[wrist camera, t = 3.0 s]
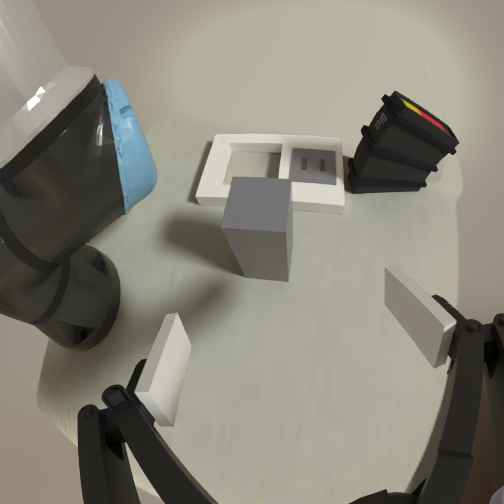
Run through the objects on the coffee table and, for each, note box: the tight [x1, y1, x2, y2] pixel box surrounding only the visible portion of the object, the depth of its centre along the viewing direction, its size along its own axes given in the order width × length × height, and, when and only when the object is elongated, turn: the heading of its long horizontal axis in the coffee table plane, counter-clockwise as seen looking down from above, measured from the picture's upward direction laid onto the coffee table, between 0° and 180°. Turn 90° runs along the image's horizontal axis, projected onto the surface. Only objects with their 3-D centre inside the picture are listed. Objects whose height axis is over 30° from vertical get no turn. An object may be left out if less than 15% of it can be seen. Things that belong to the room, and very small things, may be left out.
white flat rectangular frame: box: [195, 134, 345, 214], centre depth 36 cm, size 19×12×2 cm, turn 81°
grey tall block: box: [221, 177, 293, 282], centre depth 27 cm, size 5×5×12 cm
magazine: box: [348, 91, 459, 194], centre depth 29 cm, size 4×13×15 cm, turn 93°
